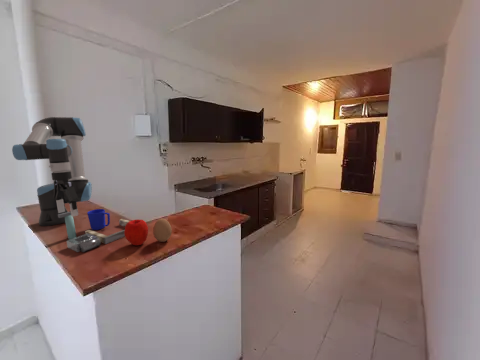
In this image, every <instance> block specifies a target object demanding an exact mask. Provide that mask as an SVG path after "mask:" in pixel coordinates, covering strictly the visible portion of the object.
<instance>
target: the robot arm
mask: <svg viewBox="0 0 480 360" xmlns="http://www.w3.org/2000/svg"><path fill="white" fill-rule="evenodd" d="M86 135H87V134H86V129H85V126H84V124H83V120H82V119H81V118H80V117H73V116H72V117H71V116H70V117H67V116H65V117H63V116H58V117H55V116H54V117H53V116H50V117H45V118H43V119H40V120H38V121H37V122H35V123H34V124H33V125H32V127H31V132H30V133H29V135H28V136H27V138H26V139H25V141H24V142H23V143H20V144H14V145H12V148H11V150H12V151H11V152H12V155H13V157H14V159H15V160H17V161H34V160H35V161H36V160H49V165H48V168H50V171H51V178H52V181H53V183H47V184H45V185H41V186H39V187H38V188H37V189H36V193H37V199H38V203H39V209H40V213H39V219H38V224H39V226H41V227H48V226H55V225H60V224H64V223H65V217H62V218H59V217H58V214H62V213H66V212H70V211H71V217H73V218H74V217H76V216H79V210H78V204H77V203H80V202H81V203H83V202H88V201H90V200H91V198H92V194H93V193H92V192H93V191H92V190H93V189H92V188H93V187H92V182H91V181H89V179H88V178H87V177H86V175H85V165H84V158H83V155H84V154H83V147H82V141H83V140H84V137H86ZM51 137H60V138H51ZM66 204H69V210H70V211H68V210H67V208H66Z"/></svg>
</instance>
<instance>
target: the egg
mask: <svg viewBox="0 0 480 360" xmlns="http://www.w3.org/2000/svg"><path fill="white" fill-rule="evenodd" d="M172 230H173V229H172V226H171V224H170V222H169V220H167V219H166V218H164V217H163V218H159V219H158V220H156V221H155V223H154V224H153V230H152V234H153V237H154V238H155V240H156V241H158V242H161V243H163V242H167V241H169V239H170V238H171V236H172V232H173V231H172Z"/></svg>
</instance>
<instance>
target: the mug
mask: <svg viewBox="0 0 480 360" xmlns="http://www.w3.org/2000/svg"><path fill="white" fill-rule="evenodd" d="M105 211H106V210H105V209H103V208H97V209H92V210H89V211H87V212H86V213H87V214H86V215H87V217H88V221H89V225H90V228H91V229H90V230H91V231H99V230H102V229H104V228H105V227H108V226H110V223H111V213H110V212H105ZM106 216H107V217H106ZM106 218H107V224H106Z"/></svg>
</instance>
